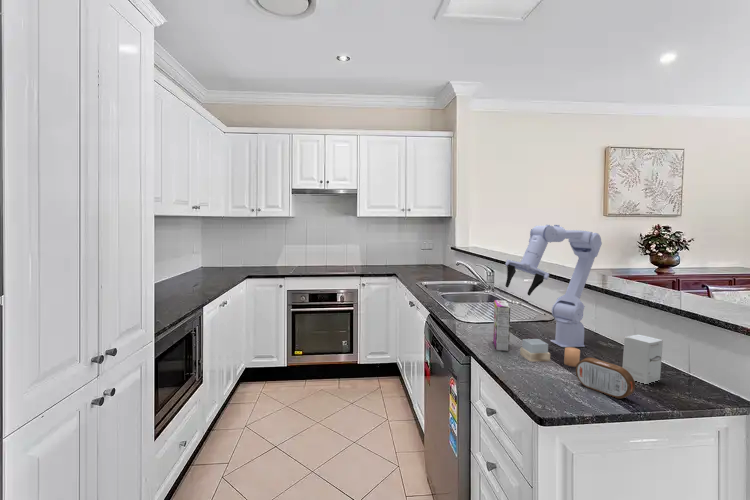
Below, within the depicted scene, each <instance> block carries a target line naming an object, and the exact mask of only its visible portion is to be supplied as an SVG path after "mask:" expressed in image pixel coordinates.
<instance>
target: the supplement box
mask: <svg viewBox="0 0 750 500" xmlns="http://www.w3.org/2000/svg"><path fill="white" fill-rule="evenodd" d="M623 339H624V340H623V341H624V342H623V354H622V366H621V367H622V368H624V369H626V370H627V371H628V372H629V373H630V374H631V375H632V377H633V379H634V382H635V381H637V382H636V383H638V382H640V383H639V384H641V383H644V384H648V385H650V384H649V383H651V382H654V383H656V382H655V381H658V380H661V371H662V369H661V368H662V358H663V357H662V356H663V347H664V346H663V343H664V341H663V340H664V339H660V338H656V337H652V336H648V335H643V334H638V333H637V334H633V335H628V336H624V338H623ZM658 382H659V381H658ZM651 384H652V383H651Z"/></svg>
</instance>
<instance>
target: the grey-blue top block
mask: <svg viewBox="0 0 750 500" xmlns="http://www.w3.org/2000/svg"><path fill="white" fill-rule="evenodd" d="M521 347H522V348H524V349H525V350H527V351H528V352H530V353H548V352H549V343H547V342H545V341H544V340H541V339H540V338H525V339H522V345H521Z"/></svg>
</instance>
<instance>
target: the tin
mask: <svg viewBox="0 0 750 500" xmlns="http://www.w3.org/2000/svg"><path fill="white" fill-rule="evenodd" d="M575 375H576V378H577V380H578V381H579V382H580V384H582V385H583V386H584V387H585V388H588V389H590V390H593V391H596V392H598V393H601V394H603V393H604V395H607V396H609V397H611V396H612V398H614V397H615V399H624V398H626V397H629V396H631V395H632V394H633V393H634V391H635V388H636V384H635V383H636V382H635V381H634V379H633V377H632V375H631V374H630V373H629V372H628V371H627V370H626V369H624V368H622V366H619V365H616V364H615V363H610V362H607V361H604V360H602V359H601V360H600V359H597V358H595V357H585V358H583V359H582V360H580V361H579V362H578V364H577V365H576V367H575Z"/></svg>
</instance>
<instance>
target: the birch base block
mask: <svg viewBox="0 0 750 500" xmlns="http://www.w3.org/2000/svg"><path fill="white" fill-rule="evenodd" d="M519 349H520V351H519V353H520V354H519V355H520V356H521V357H522V358H525V360H528V361H529V362H533V363H535V362H551V352H549V351H548V353H530V352H528V351H527V350H525V349H524V348H522V346H521V347H520V348H519Z"/></svg>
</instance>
